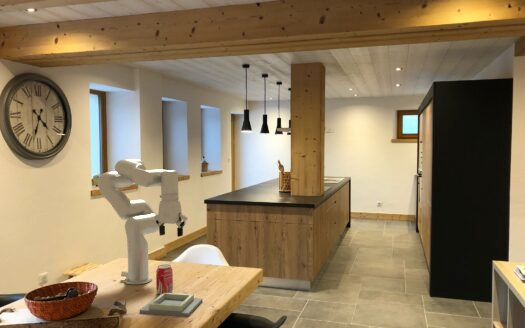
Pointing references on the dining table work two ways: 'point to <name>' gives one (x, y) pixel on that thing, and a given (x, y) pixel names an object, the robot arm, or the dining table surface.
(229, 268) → the dining table surface
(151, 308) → the holder board
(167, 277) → the soda can
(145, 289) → the dining table surface
